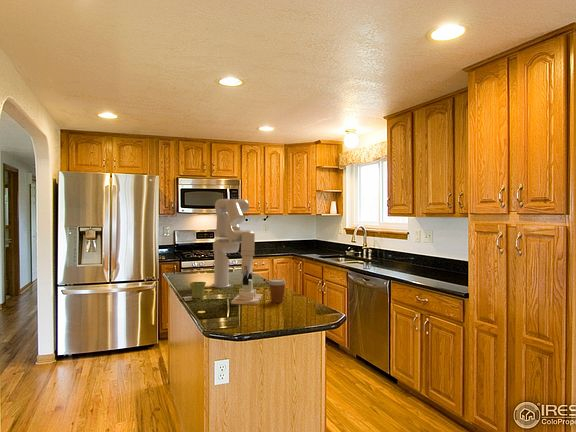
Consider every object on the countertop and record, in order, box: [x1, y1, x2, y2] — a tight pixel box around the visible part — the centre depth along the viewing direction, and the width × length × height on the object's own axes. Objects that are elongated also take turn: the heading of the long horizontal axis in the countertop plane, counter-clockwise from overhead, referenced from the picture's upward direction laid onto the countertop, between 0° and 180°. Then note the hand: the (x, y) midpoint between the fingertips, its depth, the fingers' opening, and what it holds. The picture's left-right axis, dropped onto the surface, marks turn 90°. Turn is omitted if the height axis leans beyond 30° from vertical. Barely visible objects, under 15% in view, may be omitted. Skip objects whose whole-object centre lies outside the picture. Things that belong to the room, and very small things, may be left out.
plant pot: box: [189, 281, 207, 299], centre depth 236 cm, size 9×9×9 cm
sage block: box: [241, 278, 254, 292], centre depth 230 cm, size 5×5×6 cm
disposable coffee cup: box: [268, 278, 287, 304], centre depth 227 cm, size 10×10×12 cm
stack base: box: [230, 288, 264, 306], centre depth 230 cm, size 20×14×6 cm
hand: (247, 283), depth 230 cm, fingers open, 9 cm apart
